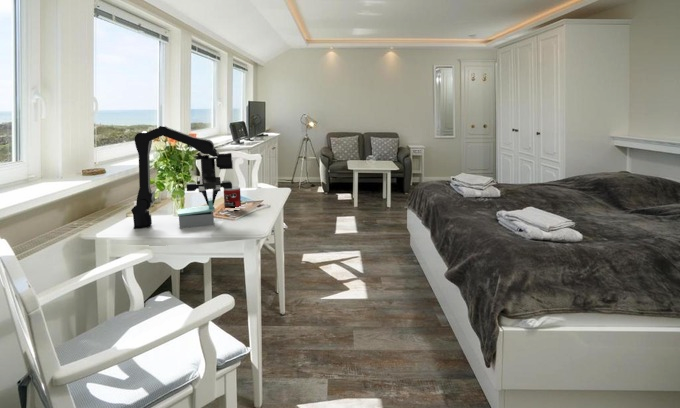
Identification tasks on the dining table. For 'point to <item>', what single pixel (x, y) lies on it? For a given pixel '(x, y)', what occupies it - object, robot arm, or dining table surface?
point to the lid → (197, 209)
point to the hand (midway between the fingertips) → (210, 205)
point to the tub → (196, 220)
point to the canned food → (232, 197)
